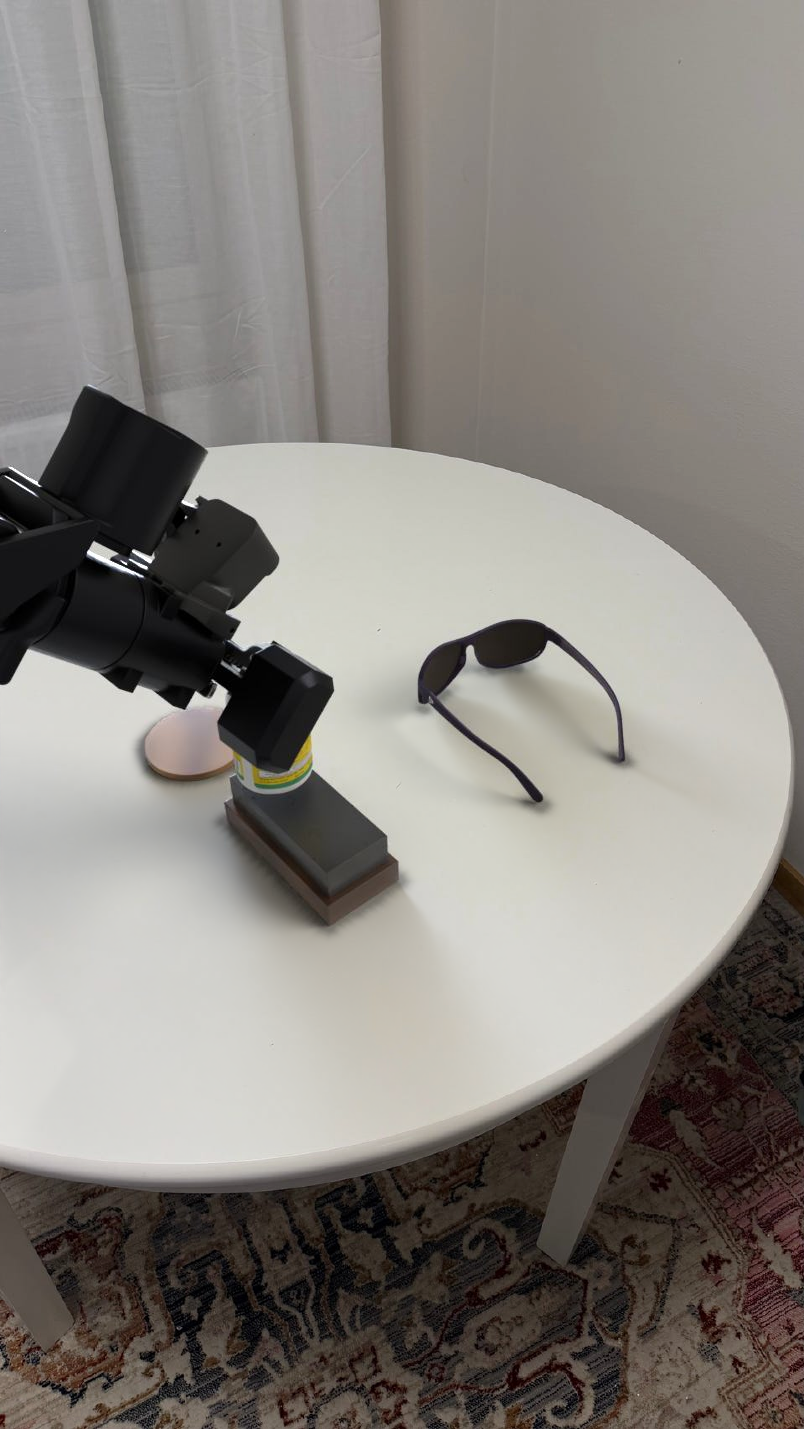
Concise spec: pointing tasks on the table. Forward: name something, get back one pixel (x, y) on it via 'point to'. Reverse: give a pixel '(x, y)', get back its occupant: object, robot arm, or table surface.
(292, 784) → the supplement bottle
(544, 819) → the table surface
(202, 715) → the cork coaster
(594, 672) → the sunglasses
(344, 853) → the sharpening stone
